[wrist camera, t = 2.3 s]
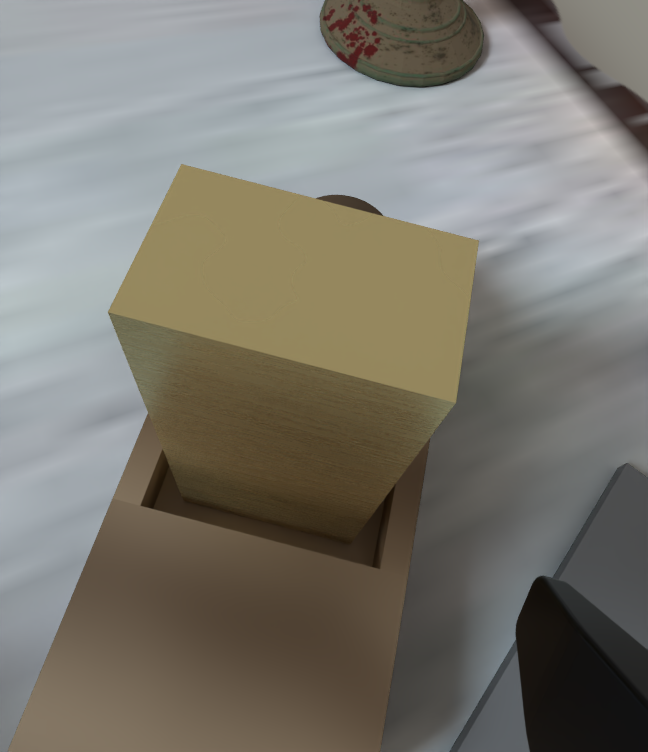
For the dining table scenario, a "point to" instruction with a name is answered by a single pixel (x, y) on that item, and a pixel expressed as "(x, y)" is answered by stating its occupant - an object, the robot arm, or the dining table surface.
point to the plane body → (225, 625)
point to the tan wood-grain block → (292, 348)
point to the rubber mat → (597, 584)
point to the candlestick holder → (404, 38)
